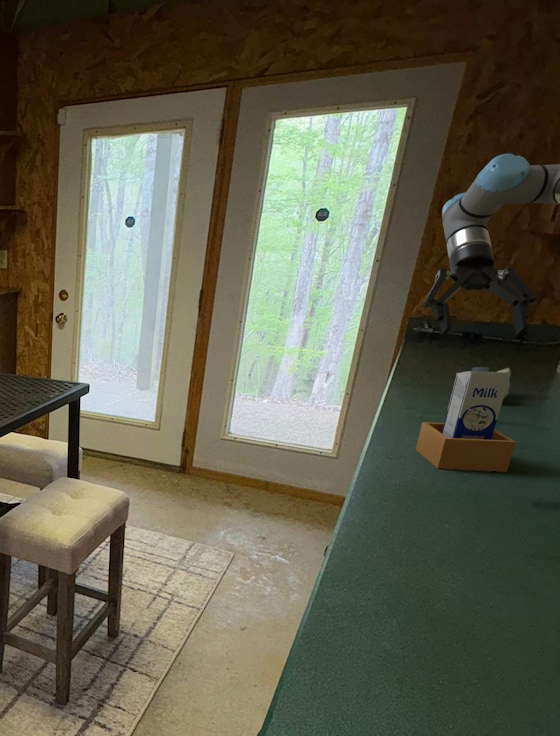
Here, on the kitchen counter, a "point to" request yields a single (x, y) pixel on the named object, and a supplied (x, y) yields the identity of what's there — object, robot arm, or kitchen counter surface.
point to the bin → (464, 450)
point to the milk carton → (475, 404)
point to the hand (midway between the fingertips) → (483, 331)
